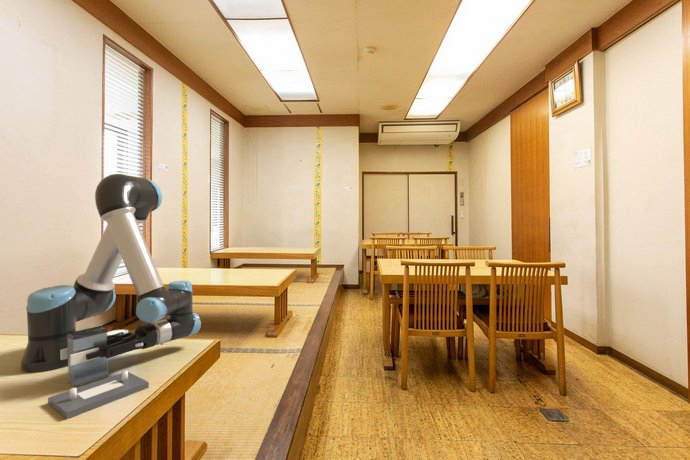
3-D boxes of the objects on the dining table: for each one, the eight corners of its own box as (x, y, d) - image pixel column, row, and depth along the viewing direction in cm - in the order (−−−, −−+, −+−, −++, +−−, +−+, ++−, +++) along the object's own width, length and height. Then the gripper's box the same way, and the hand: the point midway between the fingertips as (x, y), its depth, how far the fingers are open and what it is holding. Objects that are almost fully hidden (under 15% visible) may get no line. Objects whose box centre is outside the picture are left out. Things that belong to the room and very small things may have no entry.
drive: (68, 383, 97) (67, 333, 96) (101, 372, 103) (100, 325, 103) (74, 387, 94) (73, 335, 94) (107, 376, 101) (106, 328, 101)
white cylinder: (116, 348, 123) (116, 328, 123) (133, 349, 122) (133, 329, 122) (99, 355, 117) (99, 334, 116) (117, 357, 115) (116, 336, 115)
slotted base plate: (48, 403, 86) (47, 387, 86) (127, 376, 101) (126, 362, 100) (66, 419, 79) (66, 401, 79) (148, 387, 94) (148, 372, 94)
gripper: (169, 351, 108) (80, 380, 89) (138, 340, 119) (53, 363, 100) (168, 327, 108) (79, 350, 89) (137, 318, 119) (52, 337, 99)
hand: (65, 357), depth 94 cm, fingers open, 6 cm apart
